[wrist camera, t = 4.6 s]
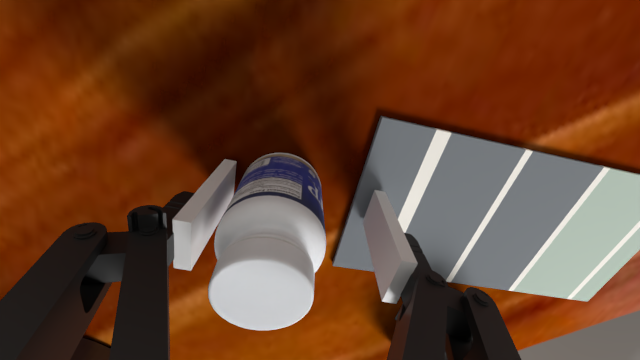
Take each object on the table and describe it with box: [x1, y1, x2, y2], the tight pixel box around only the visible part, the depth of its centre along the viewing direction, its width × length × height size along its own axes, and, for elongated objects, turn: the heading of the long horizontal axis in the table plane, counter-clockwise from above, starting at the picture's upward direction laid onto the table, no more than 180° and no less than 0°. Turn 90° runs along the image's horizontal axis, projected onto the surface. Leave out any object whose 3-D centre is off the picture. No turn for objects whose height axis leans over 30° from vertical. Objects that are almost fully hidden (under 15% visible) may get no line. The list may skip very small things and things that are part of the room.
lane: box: [333, 116, 640, 301], centre depth 20 cm, size 24×12×1 cm, turn 77°
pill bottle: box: [208, 153, 326, 330], centre depth 14 cm, size 5×5×9 cm
